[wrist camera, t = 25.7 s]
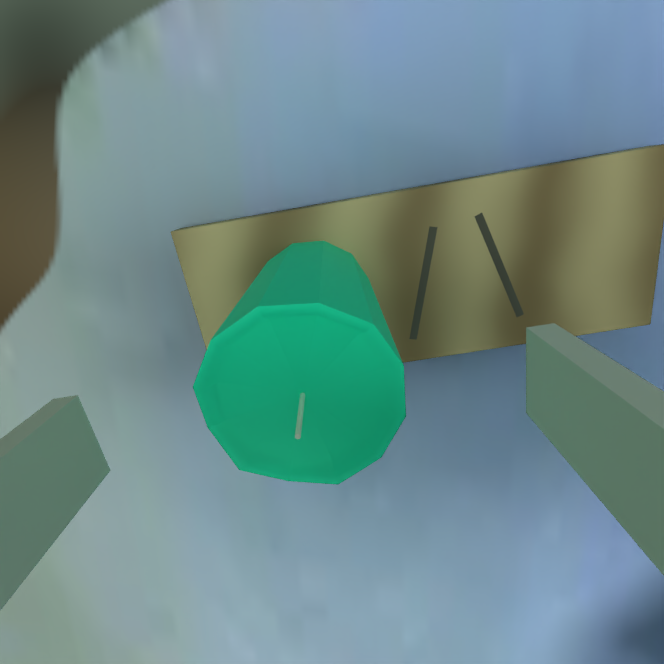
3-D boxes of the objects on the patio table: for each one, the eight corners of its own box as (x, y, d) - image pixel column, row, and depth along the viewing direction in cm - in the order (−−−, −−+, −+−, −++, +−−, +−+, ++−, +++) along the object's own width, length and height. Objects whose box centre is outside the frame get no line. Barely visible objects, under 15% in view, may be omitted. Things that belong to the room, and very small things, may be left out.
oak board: (649, 145, 20) (673, 143, 18) (630, 315, 23) (650, 324, 22) (181, 228, 21) (170, 231, 20) (225, 378, 24) (219, 391, 23)
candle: (263, 229, 20) (176, 298, 8) (382, 250, 20) (452, 342, 9) (251, 341, 22) (168, 515, 10) (359, 358, 22) (390, 542, 11)
